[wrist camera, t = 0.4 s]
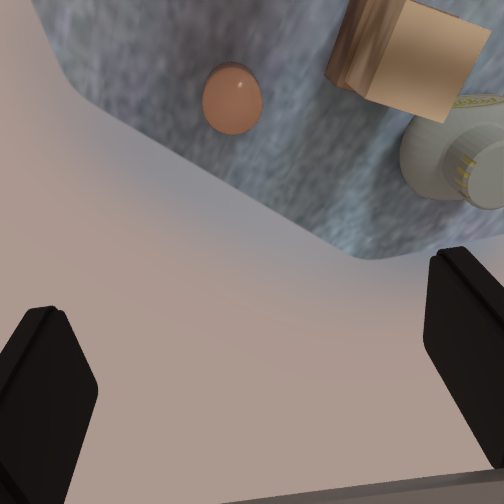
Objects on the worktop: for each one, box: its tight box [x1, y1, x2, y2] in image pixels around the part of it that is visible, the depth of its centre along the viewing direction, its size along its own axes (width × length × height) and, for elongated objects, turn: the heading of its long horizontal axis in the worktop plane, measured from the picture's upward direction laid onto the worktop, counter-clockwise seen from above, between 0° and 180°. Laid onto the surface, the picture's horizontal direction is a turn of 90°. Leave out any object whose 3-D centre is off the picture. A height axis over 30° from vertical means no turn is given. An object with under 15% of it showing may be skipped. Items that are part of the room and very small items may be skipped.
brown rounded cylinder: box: [202, 62, 263, 135], centre depth 36 cm, size 5×5×5 cm
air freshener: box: [399, 94, 504, 210], centre depth 38 cm, size 11×8×10 cm
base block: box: [325, 0, 458, 92], centre depth 35 cm, size 7×7×5 cm
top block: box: [344, 0, 491, 123], centre depth 31 cm, size 6×6×6 cm
